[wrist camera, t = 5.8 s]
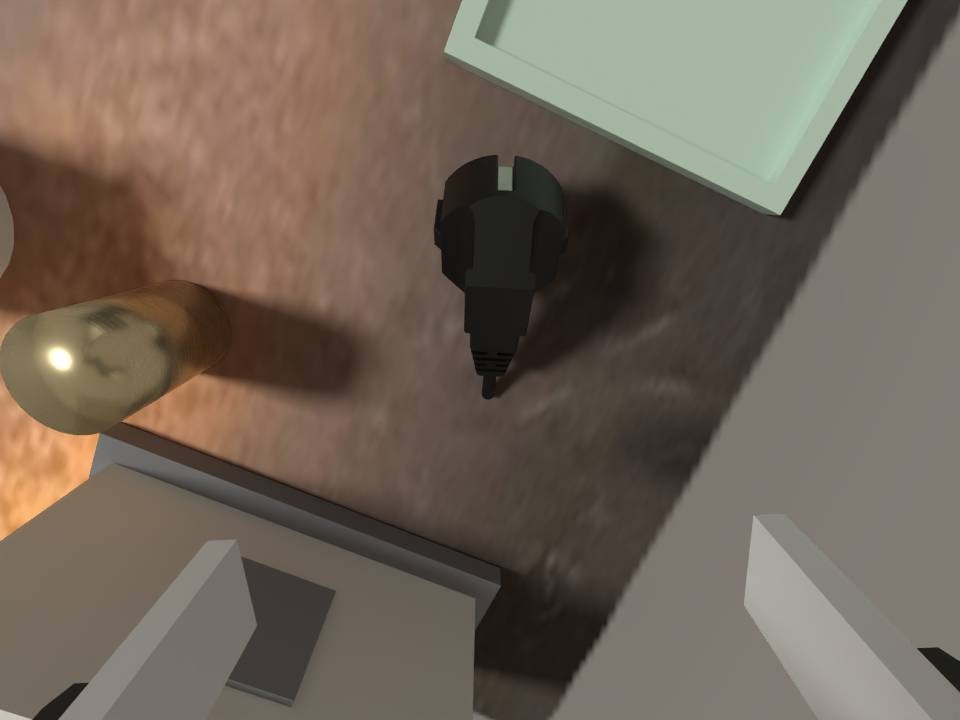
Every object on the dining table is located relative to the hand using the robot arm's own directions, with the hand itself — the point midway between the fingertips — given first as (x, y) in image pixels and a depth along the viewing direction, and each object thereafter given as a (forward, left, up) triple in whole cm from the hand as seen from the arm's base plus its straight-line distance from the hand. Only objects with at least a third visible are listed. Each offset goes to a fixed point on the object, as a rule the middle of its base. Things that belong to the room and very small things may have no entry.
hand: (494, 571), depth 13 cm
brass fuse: (-4, -16, -16) cm, 23 cm away
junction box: (+12, -13, -15) cm, 23 cm away
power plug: (-1, 0, -18) cm, 18 cm away
